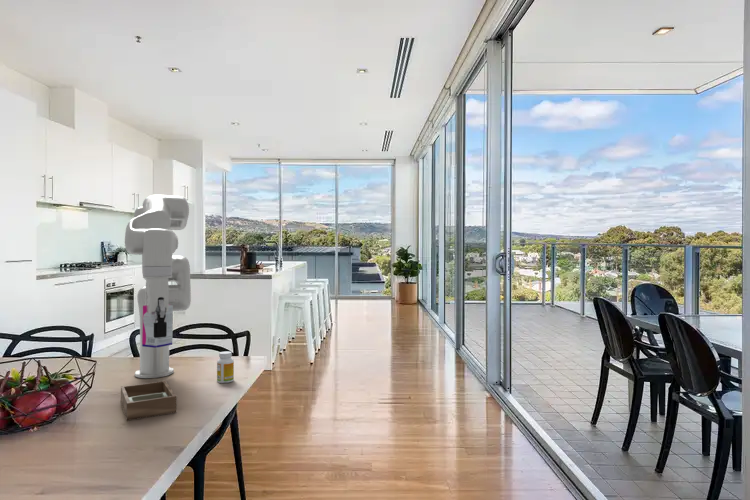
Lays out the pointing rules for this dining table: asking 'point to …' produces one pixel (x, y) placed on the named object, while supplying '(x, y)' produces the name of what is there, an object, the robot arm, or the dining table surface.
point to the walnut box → (147, 400)
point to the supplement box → (148, 329)
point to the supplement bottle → (225, 367)
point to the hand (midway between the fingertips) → (157, 334)
